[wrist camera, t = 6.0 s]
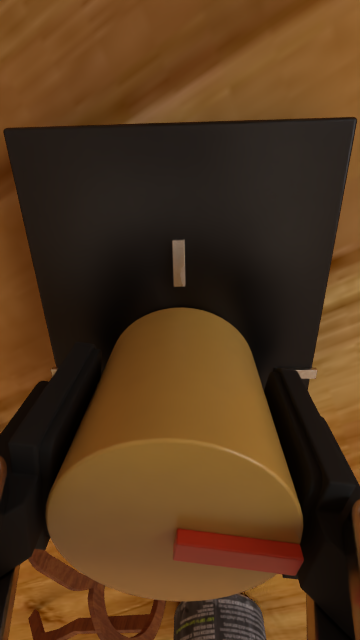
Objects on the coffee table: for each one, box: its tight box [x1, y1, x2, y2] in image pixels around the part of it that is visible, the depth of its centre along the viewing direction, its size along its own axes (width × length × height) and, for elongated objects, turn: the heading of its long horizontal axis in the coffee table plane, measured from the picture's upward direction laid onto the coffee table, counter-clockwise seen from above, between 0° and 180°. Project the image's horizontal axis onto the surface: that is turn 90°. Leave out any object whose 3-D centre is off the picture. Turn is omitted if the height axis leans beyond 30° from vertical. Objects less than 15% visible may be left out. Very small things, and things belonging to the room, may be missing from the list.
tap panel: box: [4, 117, 357, 390], centre depth 11 cm, size 12×9×2 cm
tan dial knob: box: [46, 308, 304, 601], centre depth 9 cm, size 5×5×6 cm
